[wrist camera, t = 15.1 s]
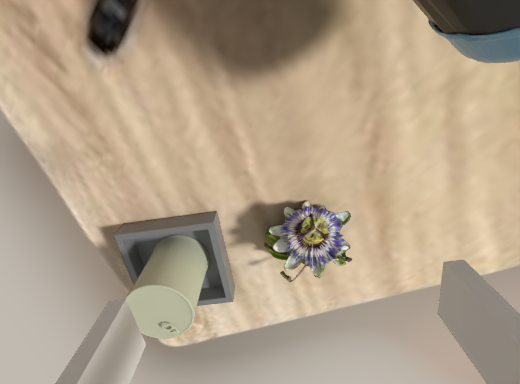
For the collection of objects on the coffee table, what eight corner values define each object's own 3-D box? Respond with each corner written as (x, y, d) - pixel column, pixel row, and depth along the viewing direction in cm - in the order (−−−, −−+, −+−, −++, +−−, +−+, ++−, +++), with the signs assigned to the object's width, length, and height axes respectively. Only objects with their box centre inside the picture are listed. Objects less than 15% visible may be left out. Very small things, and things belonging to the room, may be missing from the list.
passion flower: (301, 191, 50) (357, 195, 39) (315, 249, 52) (372, 267, 41) (245, 216, 44) (292, 228, 34) (264, 279, 47) (313, 308, 36)
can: (175, 288, 50) (150, 351, 39) (141, 249, 47) (104, 305, 36) (220, 267, 49) (207, 327, 38) (188, 225, 45) (164, 276, 34)
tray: (123, 223, 46) (113, 235, 43) (216, 211, 45) (213, 222, 42) (152, 296, 52) (144, 311, 49) (234, 286, 51) (233, 301, 48)
